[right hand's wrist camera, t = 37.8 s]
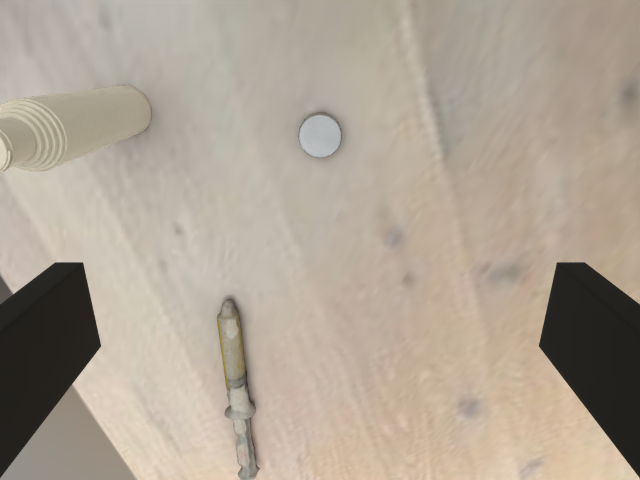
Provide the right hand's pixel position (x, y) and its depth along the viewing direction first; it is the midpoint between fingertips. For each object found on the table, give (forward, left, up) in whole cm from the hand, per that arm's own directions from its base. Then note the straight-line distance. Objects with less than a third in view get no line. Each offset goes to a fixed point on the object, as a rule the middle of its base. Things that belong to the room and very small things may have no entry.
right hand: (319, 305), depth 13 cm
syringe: (-16, +28, -32) cm, 45 cm away
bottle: (+14, +12, -32) cm, 37 cm away
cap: (0, 0, -31) cm, 31 cm away
